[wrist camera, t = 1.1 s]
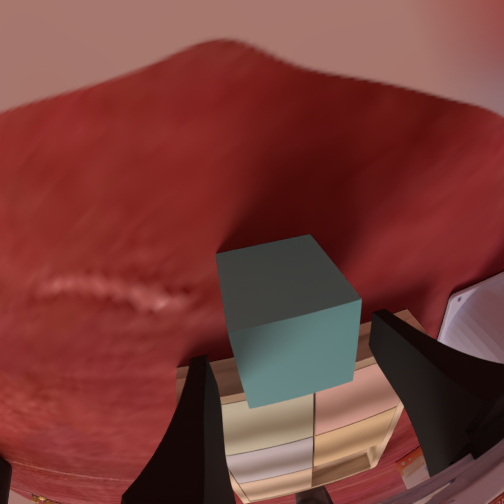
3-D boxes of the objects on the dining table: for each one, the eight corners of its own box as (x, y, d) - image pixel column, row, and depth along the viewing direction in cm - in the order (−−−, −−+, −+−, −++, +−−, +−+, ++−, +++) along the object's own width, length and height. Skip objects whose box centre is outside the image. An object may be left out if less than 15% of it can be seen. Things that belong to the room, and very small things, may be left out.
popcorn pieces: (64, 503, 34) (63, 511, 32) (50, 502, 34) (50, 509, 32) (43, 492, 31) (42, 501, 29) (30, 492, 31) (29, 500, 30)
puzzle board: (176, 367, 19) (176, 404, 16) (407, 309, 20) (429, 334, 18) (240, 483, 30) (244, 503, 28) (367, 448, 32) (375, 466, 29)
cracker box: (460, 412, 35) (517, 505, 17) (467, 416, 38) (519, 499, 19) (392, 463, 38) (435, 555, 20) (405, 463, 41) (446, 546, 23)
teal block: (309, 233, 16) (361, 299, 11) (313, 308, 19) (352, 380, 13) (215, 253, 16) (227, 332, 10) (232, 327, 18) (249, 408, 13)
